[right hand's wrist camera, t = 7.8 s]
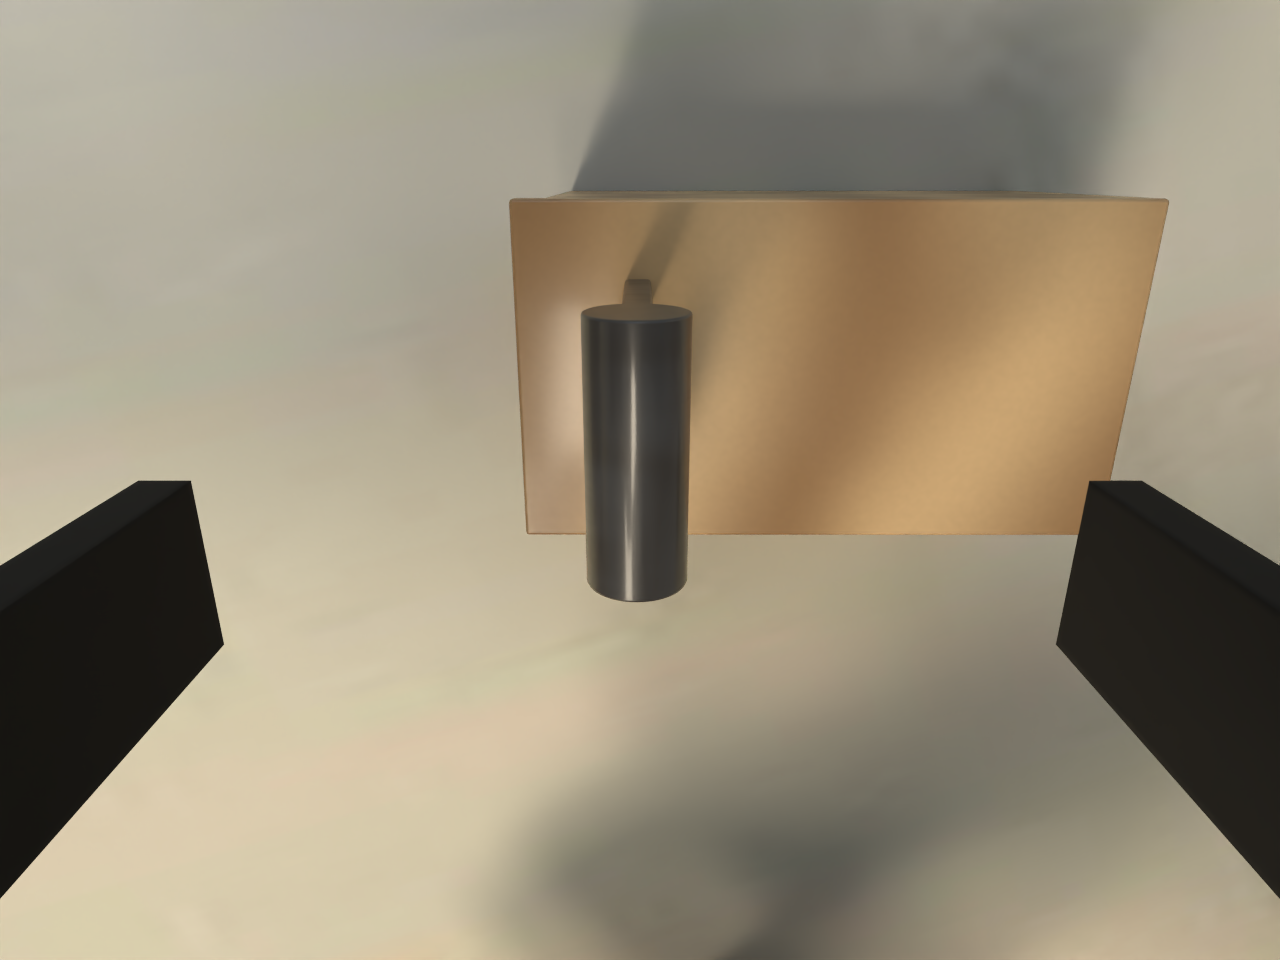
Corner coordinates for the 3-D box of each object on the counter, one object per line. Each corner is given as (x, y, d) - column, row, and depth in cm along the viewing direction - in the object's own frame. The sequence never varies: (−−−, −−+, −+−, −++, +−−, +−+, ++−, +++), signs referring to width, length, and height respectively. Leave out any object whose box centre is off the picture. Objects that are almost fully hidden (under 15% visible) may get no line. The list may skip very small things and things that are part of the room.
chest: (576, 439, 34) (556, 524, 26) (569, 190, 30) (543, 198, 22) (978, 439, 34) (1085, 524, 26) (1015, 190, 30) (1152, 198, 22)
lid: (529, 525, 26) (479, 681, 18) (512, 198, 22) (442, 212, 14) (1086, 525, 26) (1283, 681, 18) (1153, 198, 22) (1433, 211, 14)
